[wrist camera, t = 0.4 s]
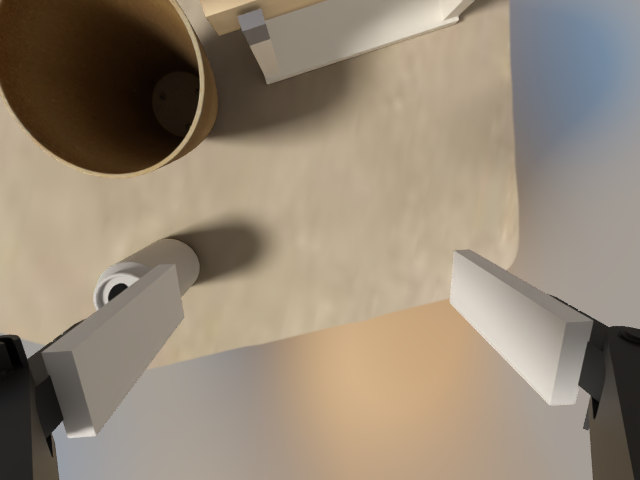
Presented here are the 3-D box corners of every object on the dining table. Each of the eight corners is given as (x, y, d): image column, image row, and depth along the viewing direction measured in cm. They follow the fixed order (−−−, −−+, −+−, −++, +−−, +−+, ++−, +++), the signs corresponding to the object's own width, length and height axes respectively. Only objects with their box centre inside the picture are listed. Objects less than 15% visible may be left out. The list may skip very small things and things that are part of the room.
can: (162, 226, 41) (105, 253, 29) (212, 256, 42) (177, 294, 31) (135, 270, 42) (71, 312, 31) (184, 298, 44) (141, 349, 32)
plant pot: (140, 11, 35) (8, -106, 19) (264, 75, 37) (234, 15, 22) (104, 138, 38) (-35, 124, 23) (220, 189, 40) (166, 209, 25)
